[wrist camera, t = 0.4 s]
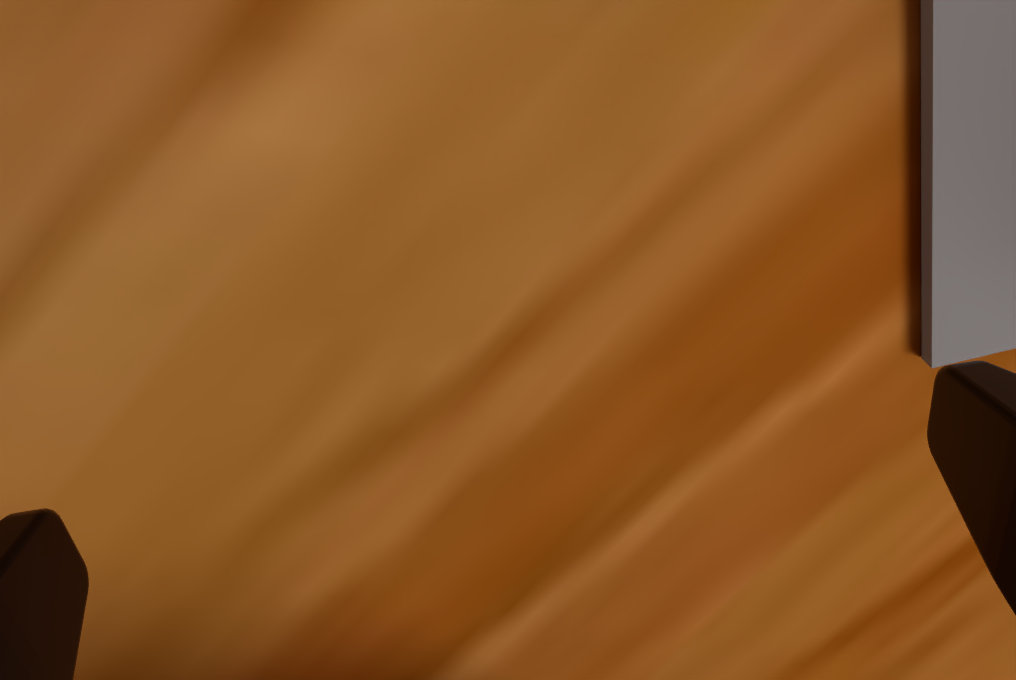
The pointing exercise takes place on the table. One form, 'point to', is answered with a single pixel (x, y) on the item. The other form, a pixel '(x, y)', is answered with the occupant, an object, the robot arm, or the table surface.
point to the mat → (968, 179)
